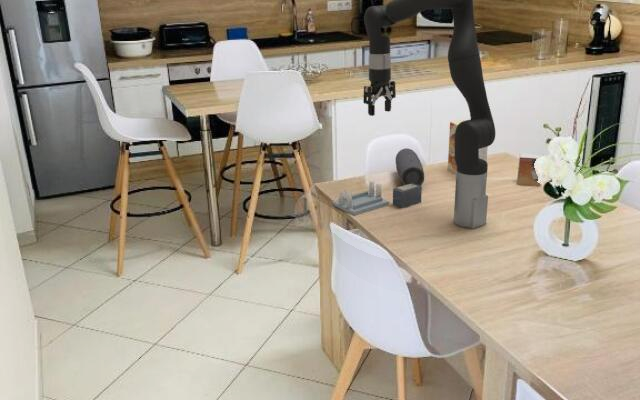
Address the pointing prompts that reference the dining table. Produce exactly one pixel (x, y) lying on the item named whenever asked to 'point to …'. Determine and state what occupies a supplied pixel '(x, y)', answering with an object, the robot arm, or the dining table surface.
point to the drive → (407, 195)
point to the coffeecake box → (451, 156)
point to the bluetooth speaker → (409, 167)
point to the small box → (527, 169)
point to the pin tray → (361, 200)
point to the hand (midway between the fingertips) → (379, 113)
